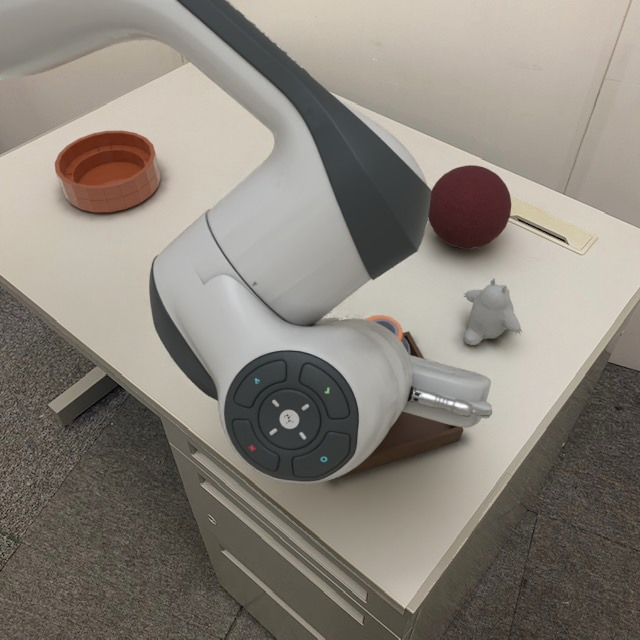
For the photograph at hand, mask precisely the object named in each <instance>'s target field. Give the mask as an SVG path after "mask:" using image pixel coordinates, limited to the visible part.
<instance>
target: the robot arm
mask: <svg viewBox="0 0 640 640" xmlns="http://www.w3.org/2000/svg"><path fill="white" fill-rule="evenodd" d="M141 41H149V42H157V43H160V44H162V45H166V46H168V47H170V48H171V49H173V50H174V51H176V52H177V53H179V54H180V55H181V56H182V57H184V58H185V59H186V60H187V61H188V62H189V63H191V65H193V66H194V67H195V68H196V69H198V70H199V71H200V72H201V73H202V74H203V75H204V76H206V77H207V78H208V79H209V80H211V82H213V83H214V84H215V85H216V86H218V88H219V89H221V90H222V91H223V92H224V93H226V94H227V95H228V96H229V97H230V98H232V100H234V101H235V102H236V103H237V104H238V105H240V106H241V107H242V108H243V109H245V110H246V111H247V112H248V113H249V114H250V115H251V116H253V117H254V118H255V119H256V120H257V121H258V122H260V123H261V124H262V125H263V126H264V127H265V128H267V130H268V131H270V133H271V134H272V137H273V140H274V142H273V144H274V145H273V148H272V150H271V152H270V153H269V155H268V156H267V157H266V158H265V160H264V161H262V163H260V164H259V165H258V166H257V167H256V168H255V169H254V170H252V172H250V173H249V174H248V175H247V176H246V177H245V178H243V180H241V181H240V182H239V183H238V184H236V186H234V188H232V189H231V190H230V191H229V192H228V193H227V194H225V196H223V197H222V198H221V199H220V200H219V201H217V203H215V204H214V205H213V206H212V207H211V208H210V209H209V208H208V209H207V210H206V211H204V212H203V213H202V214H201V215H200V216H199V217H197V218H196V219H195V220H194V221H193V222H192V223H191V224H190V225H188V227H186V228H185V229H184V230H183V231H182V232H181V233H180V234H179V235H178V236H176V237H175V238H174V239H173V240H172V241H171V242H170V243H169V244H168V245H167V246H166V247H165V248H164V249H163V250H161V252H160V253H159V254H157V255H155V257H154V258H153V259H152V263H151V267H150V271H149V280H148V281H149V283H148V290H149V291H148V292H149V304H150V311H151V316H152V323H153V326H154V329H155V332H156V334H157V336H158V338H159V340H160V342H161V343H162V345H163V347H164V348H165V350H166V352H167V353H168V355H169V357H170V358H171V359H172V360H173V362H174V363H175V364H176V366H177V367H178V368H179V369H180V370H181V372H182V373H183V374H184V375H185V376H186V377H187V379H188V380H190V382H191V383H193V385H194V386H196V387H197V388H198V389H199V390H200V391H201V392H202V393H203V394H205V395H206V396H208V397H209V398H211V399H213V400H215V401H216V402H217V404H218V405H217V407H218V413H219V419H220V424H221V426H222V427H221V428H222V429H223V433H224V435H225V437H226V439H227V441H228V443H229V444H230V447H232V449H233V450H234V452H235V453H236V454H237V455H238V457H239V458H240V459H241V460H242V461H243V462H244V463H245V464H246V465H247V466H248V467H250V468H251V469H253V470H254V471H255V472H257V473H259V474H260V475H263V476H265V477H267V478H269V479H271V480H275V481H278V482H282V483H286V484H293V485H313V484H320V483H323V482H327V481H332V480H333V479H334V480H335V478H337V477H339V476H341V475H343V474H346V473H347V472H349V471H351V470H352V469H354V468H355V467H357V466H358V465H359V464H361V463H362V462H363V461H364V460H365V459H366V458H367V457H368V456H369V455H370V454H371V453H372V452H373V451H374V450H375V449H376V448H377V447H378V446H379V444H380V443H381V442H382V440H383V439H384V438H385V436H386V435H387V433H388V432H389V430H390V428H391V427H392V426H393V424H394V423H395V422H396V420H397V419H398V417H399V416H400V414H401V413H402V411H403V412H406V413H410V414H413V415H417V416H420V417H424V418H427V419H431V420H434V421H438V422H441V423H445V424H449V425H453V426H458V427H463V428H472V427H474V426H476V425H477V424H478V423H480V421H481V420H482V419H484V420H488V419H490V417H491V416H493V405H492V404H491V403H490V402H488V401H487V400H488V397H489V393H490V388H491V385H492V380H491V379H490V377H488V376H486V375H484V374H481V373H478V372H475V371H471V370H467V369H463V368H460V367H456V366H452V365H449V364H445V363H441V362H437V361H433V360H431V359H426V358H424V359H423V358H419V357H415V356H411V355H409V354H408V352H407V350H406V348H405V347H404V345H403V344H402V342H401V341H400V340H399V339H398V338H397V336H396V335H395V334H393V333H392V332H391V331H390V330H388V329H387V328H386V327H384V326H382V325H380V324H378V323H376V322H373V321H370V320H366V318H356V317H355V318H354V317H353V318H345V319H340V318H339V317H327V318H326V316H327V315H328V314H330V312H332V311H333V310H334V309H335V308H337V307H338V306H340V305H341V304H342V303H343V302H345V301H346V300H347V299H348V298H350V296H352V295H353V294H354V293H356V292H357V291H358V290H359V289H361V288H362V287H363V286H364V285H365V284H367V283H368V282H370V281H371V280H372V281H375V280H376V279H378V278H379V277H381V276H382V275H384V274H385V273H387V272H388V271H390V270H391V269H393V268H394V267H396V266H397V265H399V264H401V263H402V262H403V261H405V260H407V259H408V258H409V257H411V256H413V255H414V254H415V253H417V252H419V249H420V247H421V244H422V241H423V238H424V235H425V233H426V229H427V224H428V221H429V218H428V215H429V209H430V200H431V190H432V189H431V188H430V187H429V186H428V184H427V180H426V177H425V174H424V173H423V171H422V169H421V166H420V165H419V163H418V162H417V160H416V159H415V158H414V156H413V155H412V153H411V152H410V151H409V150H408V149H407V147H406V146H404V145H405V144H403V143H402V142H401V141H400V140H399V139H398V138H397V137H396V136H395V135H394V134H392V133H391V132H390V131H389V130H387V129H386V128H385V127H384V126H383V125H381V124H379V123H378V122H377V121H375V120H373V119H372V118H370V117H369V116H367V115H365V114H364V113H362V112H361V111H360V110H358V109H356V108H354V107H353V106H351V105H350V104H347V103H346V102H345V101H343V100H341V99H340V98H338V97H337V96H335V95H334V94H333V93H331V92H330V91H329V90H328V89H327V88H325V86H324V85H322V84H321V83H320V82H319V81H317V80H316V79H315V78H314V77H313V76H312V75H311V74H310V73H309V72H308V71H307V70H306V69H305V67H304V66H303V65H301V64H300V63H298V61H297V60H296V59H295V58H294V57H292V56H291V54H289V53H288V52H287V51H286V50H285V49H283V48H282V47H281V46H280V45H279V44H278V43H277V42H275V40H273V39H272V38H271V37H270V36H269V35H268V34H266V33H265V32H264V31H263V30H261V28H259V26H258V25H257V24H255V23H254V22H253V21H252V20H251V19H250V18H248V16H246V15H245V14H243V13H242V12H241V11H240V9H239V8H238V7H236V6H235V5H234V4H233V3H231V2H230V1H229V0H0V81H6V80H14V79H20V78H25V77H30V76H35V75H38V74H42V73H45V72H48V71H49V72H50V71H51V70H54V69H57V68H59V67H62V66H65V65H66V64H67V65H68V64H69V63H71V62H74V61H76V60H79V59H82V58H84V57H86V56H88V55H91V54H93V53H96V52H99V51H102V50H104V49H107V48H111V47H113V46H116V45H121V44H125V43H131V42H141ZM324 317H325V318H324ZM337 479H338V478H337Z"/></svg>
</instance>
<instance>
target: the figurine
mask: <svg viewBox="0 0 640 640" xmlns="http://www.w3.org/2000/svg"><path fill="white" fill-rule="evenodd" d="M463 298H466V300H467V301H468V302H470V303H472V306H471V309H470V312H469V315H468V329H467V330H466V331H465V333H464V335H463V340H464V342H465V344H467V345H470V346H476V345H479V344H480V343H481V342H482V340H487V339H490V340H491V339H492V340H494V339H496V338H498V337H499V336H501V335H502V334H503V333H504V332H505V331H506V330H508V331H511V332H513V333H514V334H515V335H516V336H517V335H518V334H519V335H520V336H522V334H521V333H523V330H522V328H521V323H520V322H519V319H518V318H517V315H516V313H514V312H515V309H514V305H513V302H512V299H511V296H510V289H509V288H508V286H507V285H506V284H496V278H495V277H494V278H493V279H492V280H491V281H490V284H488V285H486V286H485V287H484V288H483V289H470V290H467V291H466V292H465V293H463Z"/></svg>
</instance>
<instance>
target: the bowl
mask: <svg viewBox="0 0 640 640" xmlns="http://www.w3.org/2000/svg"><path fill="white" fill-rule="evenodd" d="M54 172H55V175H56V177H57V180H58V182H59V185H60V187H61V190H62V193H63V195H64V197H65V198H66V200H67V201H68V202H69V203H70V205H72V206H74V207H76V208H78V209H79V210H82V211H86V212H91V213H113V212H119V211H122V210H127V209H129V208H131V207H134V206H137V205H140V204H142V202H144V201H145V200H147V199H148V198H150V197H151V196H152V195H153V194H154V192H155V191H156V190H157V189H158V188H159V186H160V182H161V178H162V174H161V171H160V166H159V161H158V158H157V154H156V150H155V146H154V144H153V142H151V141H150V140H149V139H148V138H147V137H146V136H144V135H142V134H140V133H137V132H134V131H128V130H104V131H103V130H102V131H98V132H93V133H89V134H87V135H85V136H81V137H79V138H76V140H74V141H72V142H71V143H69V144H67V145H66V146H65V147H64V148H63V149H62V150H61V151H60V152H59V153H58V154H57V157H56V159H55V161H54Z"/></svg>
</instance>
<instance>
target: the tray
mask: <svg viewBox="0 0 640 640" xmlns="http://www.w3.org/2000/svg"><path fill="white" fill-rule="evenodd" d="M403 336H404V337H405V339H406V340H407V342H408V344H409V347H410V352H411V356H415V357H419V358H423V359H425V357H424V356H423V354H422V351H421V350H420V348H419V347H418V344H417V343H416V341H415V339H414V338H413V335H412V334H411V332H410V331H404V332H403ZM464 430H465V429H464V427H458V426H453V425H449V424H445V423H441V422H438V421H434V420H431V419H427V418H424V417H420V416H417V415H413V414H410V413H406V412H403V411H402V413H401V414H400V416H399V417H398V419H397V420H396V422H395V423H394V424H393V426H392V427H391V428H390V430H389V432H388V433H387V435H386V436H385V438H384V439H383V440H382V442H381V443H380V444H379V446H378V447H377V448H376V449H375V450H374V451H373V452H372V453H371V454H370V455H369V456H368V457H367V458H366V459H365V460H364V461H363V462H362V463H361V464H359V465H358V466H357V467H355V468H354V469H352V470H351V471H349V472H347V473H346V474H343V475H341V476H339V477H337V478H334V480H337V479H340V478H343V477H347V476H350V475H353V474H356V473H359V472H362V471H366V470H369V469H373V468H376V467H378V466H382V465H386V464H388V463H392V462H394V461H398V460H401V459H404V458H405V459H406V458H408V457H411V456H415V455H417V454H421V453H424V452H426V451H430V450H433V449H436V448H439V447H442V446H446V445H449V444H450V445H451V444H452V443H456V442H459V441H461V440H462V436H463V434H464Z"/></svg>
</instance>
